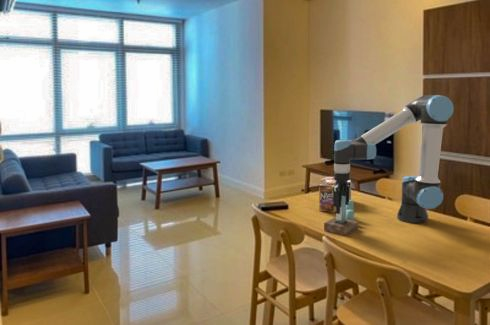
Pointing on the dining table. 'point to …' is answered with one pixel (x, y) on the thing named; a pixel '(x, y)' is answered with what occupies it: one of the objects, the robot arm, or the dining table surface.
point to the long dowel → (342, 211)
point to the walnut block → (341, 226)
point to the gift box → (333, 182)
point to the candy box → (326, 198)
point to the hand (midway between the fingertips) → (341, 218)
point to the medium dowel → (350, 205)
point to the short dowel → (350, 214)
